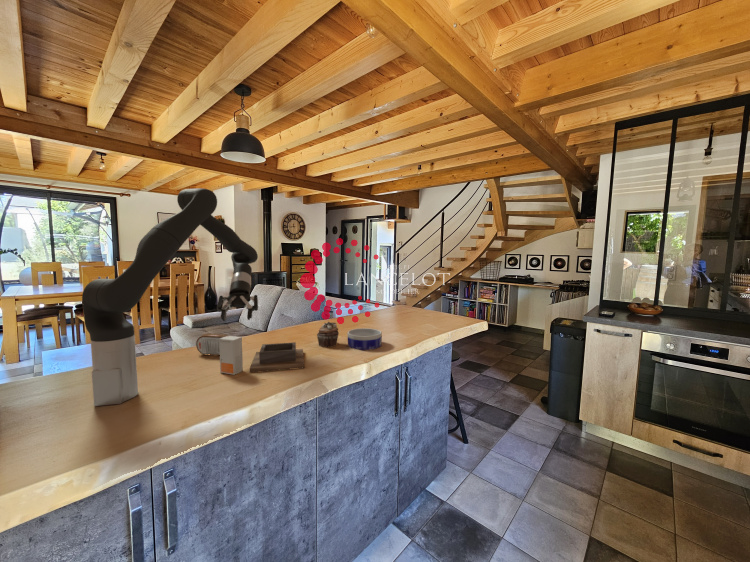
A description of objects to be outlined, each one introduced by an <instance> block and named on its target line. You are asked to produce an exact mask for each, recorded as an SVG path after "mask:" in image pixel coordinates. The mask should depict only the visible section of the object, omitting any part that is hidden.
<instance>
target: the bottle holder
mask: <svg viewBox="0 0 750 562" xmlns="http://www.w3.org/2000/svg"><path fill="white" fill-rule="evenodd" d="M250 364H251V365H250V366H249V373H250V372H251V373H259V372H258V371H263V372H268V371H267V370H275V371H280V370H279V369H287V370H291V369H290V368H299V369H303V368H302V367H304V368H305V360H304V349H303V348H297V343H296V341H295V342H293V341H292V342H280V343H278V342H277V343H264V344H262V345H261V348H260V350H259V351H256V352H255V354H254V357H253V359H252V362H251V363H250Z"/></svg>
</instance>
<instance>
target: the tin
mask: <svg viewBox="0 0 750 562" xmlns="http://www.w3.org/2000/svg"><path fill="white" fill-rule="evenodd" d="M226 336H230V335H228V334H224V333H204V334H202V335H201V336H199V337H198V338H197V340H196V343H195V346H196V349H197V351H198V353H200V354H201V355H203V354H210V355H209V356H214V355H220V348H219V339H220V338H223V337H226Z"/></svg>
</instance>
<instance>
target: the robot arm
mask: <svg viewBox="0 0 750 562" xmlns="http://www.w3.org/2000/svg"><path fill="white" fill-rule="evenodd" d="M177 205H178V206H179V208H180V211H179V212H177V213H175V214H174V215H171V216H170V217H167V218H166V219H163V220H162V221H160V222H159V223H157V224H155V225H154V226H153V227H152V228H150V230H149V231H147V233H146V234H144V236H143V237H142V238H141V239H140V240H139V243H138V245H137V249H136V252H135V257H134V259H133V260H132V263H131V264H130V265H129V266H128V267H127V268H126V269H125V270H124V271H123V272H122V273H121V274H120V275H118V276H117V277H116V278H98V279H94V280H92V281H90V282H89V283H88V284H86V285H85V287H84V289H83V291H82V295H81V304H82V305H81V306H82V313H83V319H84V326H85V329H86V331H87V332H88V333H89V338H90V350H91V362H92V363H91V364H92V371H91V381H92V394H93V395H92V396H93V406H94V407H98V406H99V407H100V406H109V405H120V404H123V403H124V402H126V401H128V400H131V399H133V398H135V397H137V395H138V394H139V384H138V369H137V366H138V365H137V355H136V353H137V351H136V334H135V326H134V325H133V324H132V323H131V322H129V321H128V319H126V318H125V316H124V313H127V312H130V310H132V309H133V308H134V307H135V306H136V305H137V304H138V303H139V302H140V300H141V298H143V296H144V294H145V293H146V291H147V290H148V288H149V286H150V284H152V282H153V281H154V279H155V278H156V277H157V276H158V274H159V273H160V272H161V271H162V269H164V267H165V266H166V265H167V264H168V262H169V261H170V260H171V259H172V258H173V256H175V254H176V253H177V252H178V251H179V250H180V248H181V247H182V246H183V244H185V242H186V241H187V240H188V239H189V238H190V237H191V236H192V234H193V233H194V232H195V231H196V230H197V228H198V227H199V226H201V227H202V228H203V229H205V231H207V232H208V233H210V234H211V235H212V236H213V237H214V238H216V240H218V242H219V243H220V244H221V246H223V247H224V249H225V250H226V251H228V252H229V253H232V254H231V257H230V258H231V261H232V266H233V267H232V268H233V272H232V277H231V281H230V287H229V293H228V296H224V295H220V296H219V298H218V301H217V305H216V309H217V312H219V313H220V318H221V320H222V321H223V322H226V320H227V312H229V311H231V310H232V309H233V308H235V309H236V308H237V309H238V308H243V307H244V308H246V309H247V316H246V318H247V321H250V320H251V319H252V318H253V312H254V311H258V310H259V297H258V294H254V295H253V296H250V295H251V288H252V287H251V286H252V272H253V271H252V269H253V268H252V267H251V265H250V264H253V263H255V262H257V260H258V257H259V256H258V255H259V254H258V252H257V250H256V248H254V247H253V246H252V245H250V244H248V243H247V242H245V241H244V240H242V239H241V238H240V236H239V235H238V234H237V233H236V232H235V230H233V229H232V228H231V227H230V226H228V225H227V224H225V222H222V221H221V220H219V219H218V218H216V217H214V216H213V213H214V212H216V209H217V206H218V198H217V196H216V194H215V193H214V192H213V190H211V189H207V188H202V187H199V188H185V189H182V190H180V192H179V193H178V194H177ZM250 301H252V302H253V306H252V305H251V303H250Z"/></svg>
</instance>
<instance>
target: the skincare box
mask: <svg viewBox="0 0 750 562" xmlns="http://www.w3.org/2000/svg"><path fill="white" fill-rule="evenodd" d="M219 348H220V356H219V370H220V371H219V373H220V374H228V375H233V376H235V374H236V375H237V374H239V373H241V372H242V370H243V369H244V367H243V363H244V362H243V361H244V360H243V338H242V336H235V335H229V336H226V337H223V338H220V339H219ZM243 371H244V370H243Z"/></svg>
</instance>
